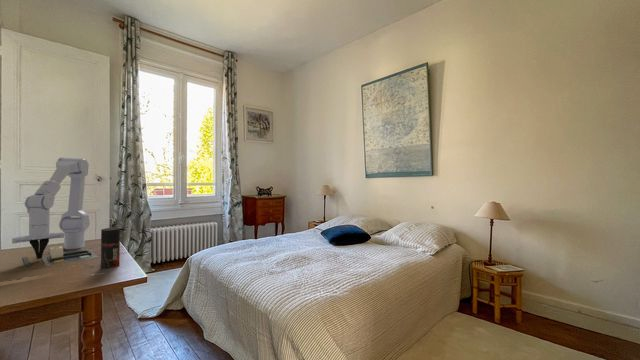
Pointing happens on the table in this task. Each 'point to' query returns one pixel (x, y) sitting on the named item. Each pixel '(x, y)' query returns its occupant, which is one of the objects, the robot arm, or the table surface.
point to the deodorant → (110, 248)
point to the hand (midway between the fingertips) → (39, 258)
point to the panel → (69, 257)
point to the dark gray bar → (26, 261)
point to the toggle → (56, 252)
